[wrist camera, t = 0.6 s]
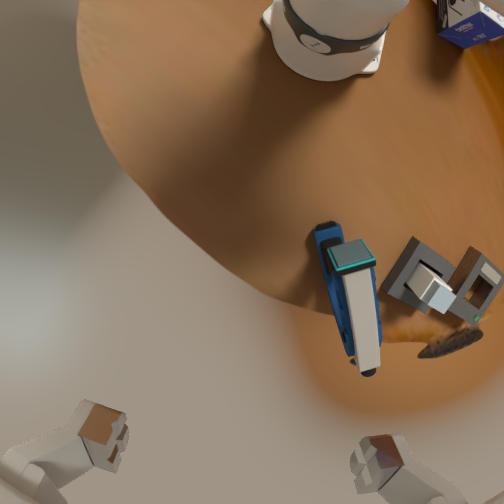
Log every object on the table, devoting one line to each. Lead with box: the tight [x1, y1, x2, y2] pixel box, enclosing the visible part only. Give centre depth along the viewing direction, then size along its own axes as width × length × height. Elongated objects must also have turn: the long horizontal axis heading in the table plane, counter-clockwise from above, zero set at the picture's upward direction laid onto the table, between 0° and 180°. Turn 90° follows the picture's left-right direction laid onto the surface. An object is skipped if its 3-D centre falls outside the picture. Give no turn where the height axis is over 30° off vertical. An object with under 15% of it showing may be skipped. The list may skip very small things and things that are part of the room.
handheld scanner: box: [313, 221, 382, 377], centre depth 36 cm, size 5×16×20 cm, turn 18°
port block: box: [447, 246, 504, 326], centre depth 43 cm, size 12×11×4 cm
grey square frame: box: [382, 236, 456, 314], centre depth 44 cm, size 10×10×3 cm
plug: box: [406, 262, 457, 314], centre depth 41 cm, size 4×5×10 cm
